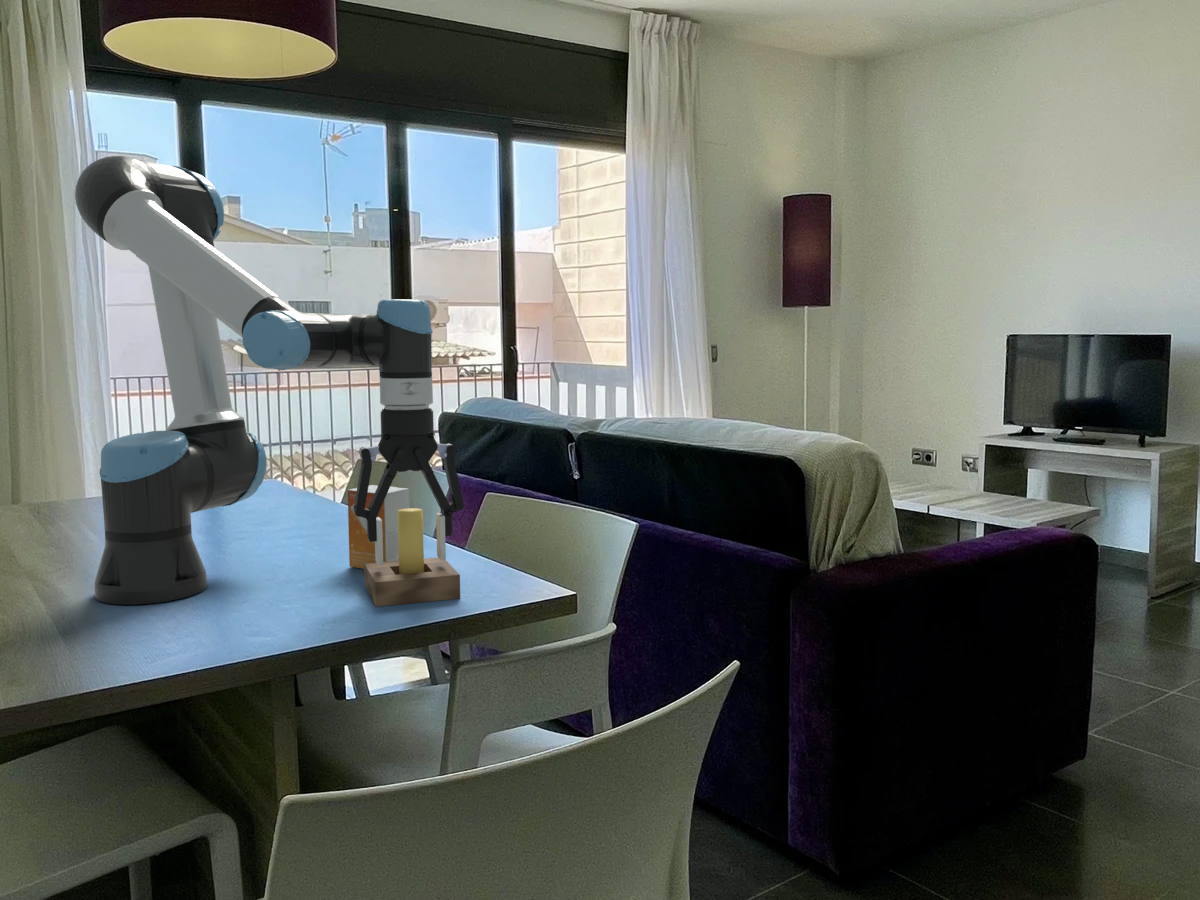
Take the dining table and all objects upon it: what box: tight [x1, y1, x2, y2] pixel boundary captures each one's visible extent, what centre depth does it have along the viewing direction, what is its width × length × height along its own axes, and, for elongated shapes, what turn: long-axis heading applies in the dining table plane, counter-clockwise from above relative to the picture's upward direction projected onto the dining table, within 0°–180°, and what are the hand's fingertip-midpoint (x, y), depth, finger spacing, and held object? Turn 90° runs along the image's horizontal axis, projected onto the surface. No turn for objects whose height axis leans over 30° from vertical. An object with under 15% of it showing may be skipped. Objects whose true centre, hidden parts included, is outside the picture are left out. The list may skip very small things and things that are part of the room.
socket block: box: [364, 556, 461, 607], centre depth 144 cm, size 12×12×4 cm
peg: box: [398, 507, 425, 574], centre depth 143 cm, size 4×4×12 cm
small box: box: [347, 484, 411, 570], centre depth 159 cm, size 8×6×13 cm
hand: (410, 560), depth 144 cm, fingers open, 8 cm apart
